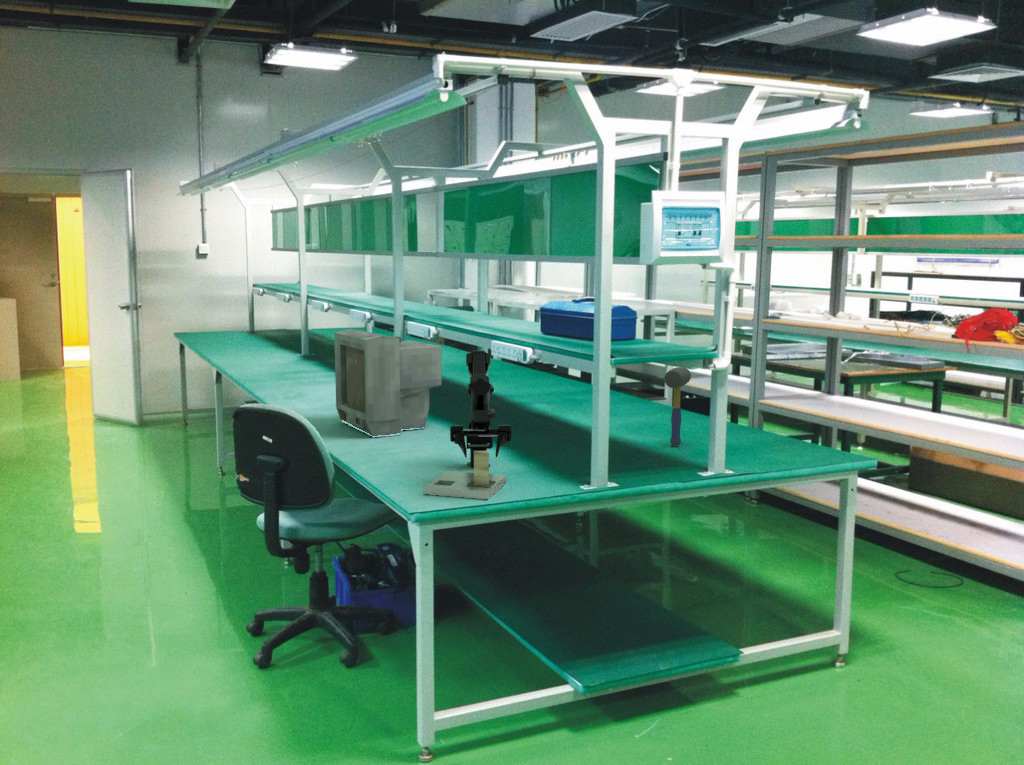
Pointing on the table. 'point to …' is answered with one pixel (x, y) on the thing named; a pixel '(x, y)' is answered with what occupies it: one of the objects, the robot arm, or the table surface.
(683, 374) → the rubber mallet
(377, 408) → the crt television
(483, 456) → the maple post
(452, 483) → the pocket plate
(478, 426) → the robot arm
